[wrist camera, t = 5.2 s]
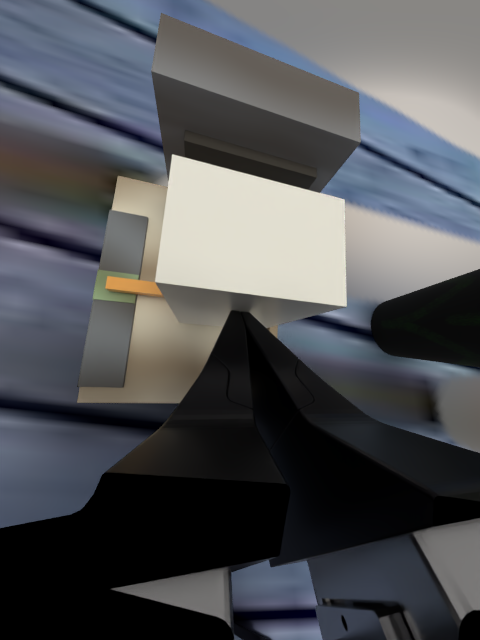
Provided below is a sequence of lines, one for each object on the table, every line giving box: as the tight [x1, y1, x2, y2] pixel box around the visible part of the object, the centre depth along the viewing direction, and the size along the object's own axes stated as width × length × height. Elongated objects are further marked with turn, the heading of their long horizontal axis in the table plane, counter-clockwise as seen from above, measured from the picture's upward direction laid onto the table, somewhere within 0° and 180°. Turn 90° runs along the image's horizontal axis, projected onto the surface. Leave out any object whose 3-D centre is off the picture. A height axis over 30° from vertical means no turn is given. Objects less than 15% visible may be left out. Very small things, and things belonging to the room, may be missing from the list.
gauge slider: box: [105, 154, 347, 328], centre depth 10 cm, size 4×10×9 cm, turn 87°
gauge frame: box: [77, 13, 361, 403], centre depth 11 cm, size 16×12×10 cm
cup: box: [371, 269, 480, 367], centre depth 14 cm, size 8×8×12 cm
